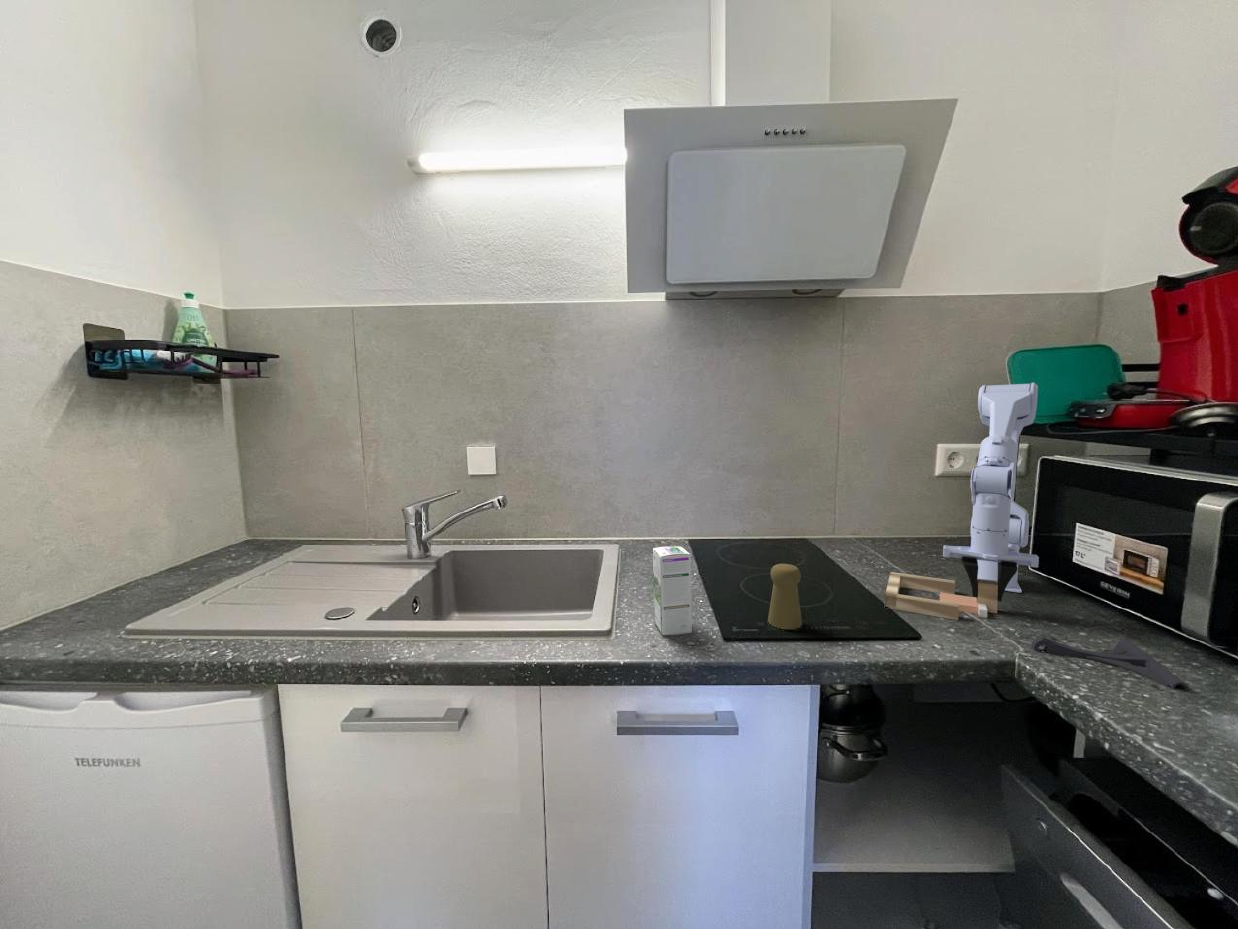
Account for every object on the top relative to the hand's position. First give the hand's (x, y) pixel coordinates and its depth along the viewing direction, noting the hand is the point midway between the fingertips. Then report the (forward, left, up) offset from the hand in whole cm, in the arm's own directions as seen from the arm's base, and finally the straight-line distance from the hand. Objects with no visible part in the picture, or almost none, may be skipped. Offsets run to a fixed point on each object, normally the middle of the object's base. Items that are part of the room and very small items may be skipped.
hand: (986, 597), depth 95 cm
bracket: (+15, +12, -3) cm, 20 cm away
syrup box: (+38, -49, -3) cm, 62 cm away
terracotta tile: (0, -4, -3) cm, 5 cm away
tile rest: (0, -12, -2) cm, 12 cm away
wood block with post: (0, -1, -2) cm, 3 cm away
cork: (+26, -32, -3) cm, 41 cm away
